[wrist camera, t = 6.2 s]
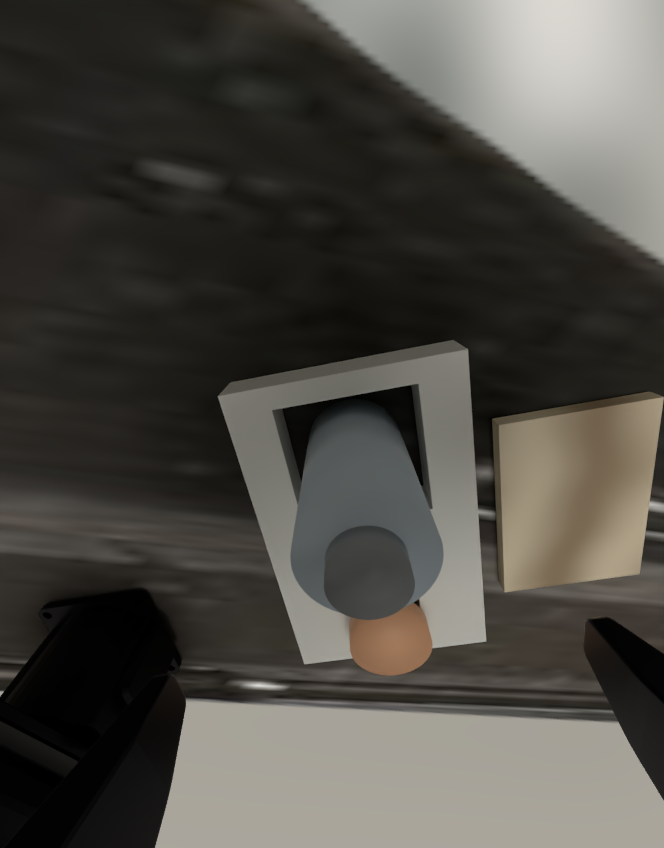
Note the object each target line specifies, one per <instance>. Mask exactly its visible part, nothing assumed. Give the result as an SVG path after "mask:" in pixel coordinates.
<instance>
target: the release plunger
mask: <svg viewBox="0 0 664 848" xmlns="http://www.w3.org/2000/svg"><path fill="white" fill-rule="evenodd" d="M349 635H350V652H351V655H352V657H353V659H354V661H355V662H356V663H357V664H358V665H359V666H360V667H362V668H363V669H365V670H367V671H369V672H372V673H375V674H380V675H399V674H404V673H407V672H410V671H412V670H414V669H416V668H418V667H420V666H421V665H422V664H423V663H424V662H425V661H426V660H427V659H428V658H429V656H430V654H431V651H432V646H433V645H432V639H431V635H430V631H429V627H428V623H427V619H426V616H425V614H424V612H423V611H422V609H421V608H420V607H419V606H417V605H416V604H414V603H412V604H410V605H408V606H406V607H405V608H402V609H401V610H400V611H398V612H397V613H395V614H393V615H391V616H388V617H385V618H381V619H376V620H361V619H355V618H352V617H351V619H350V623H349Z"/></svg>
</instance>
